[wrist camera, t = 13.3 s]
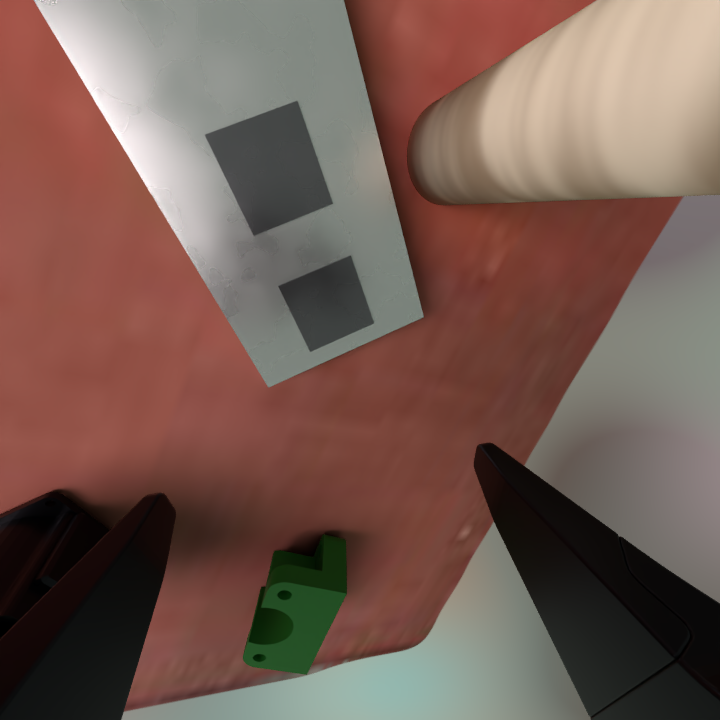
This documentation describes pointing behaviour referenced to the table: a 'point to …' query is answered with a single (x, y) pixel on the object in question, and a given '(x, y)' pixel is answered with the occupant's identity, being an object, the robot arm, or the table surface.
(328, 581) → the clamp
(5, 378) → the table surface
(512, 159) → the pin
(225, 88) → the grey slotted plate
